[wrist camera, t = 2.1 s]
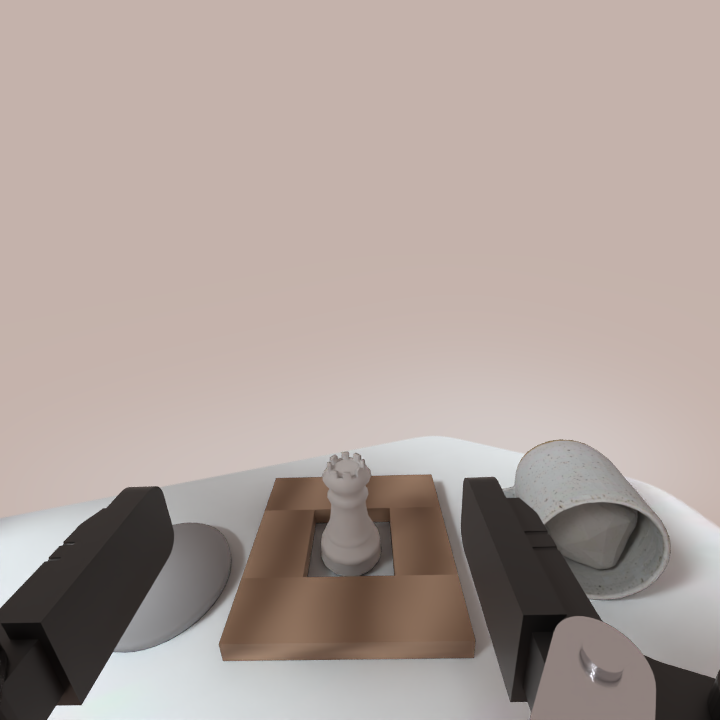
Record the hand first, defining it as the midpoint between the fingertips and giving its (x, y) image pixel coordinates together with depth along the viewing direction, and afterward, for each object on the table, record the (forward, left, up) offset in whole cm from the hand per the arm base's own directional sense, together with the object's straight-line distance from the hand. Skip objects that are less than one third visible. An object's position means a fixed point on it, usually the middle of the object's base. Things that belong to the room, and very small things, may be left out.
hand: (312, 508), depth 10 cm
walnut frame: (0, +13, -16) cm, 20 cm away
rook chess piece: (0, +13, -16) cm, 20 cm away
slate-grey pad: (-13, +11, -16) cm, 23 cm away
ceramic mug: (+14, +13, -16) cm, 25 cm away
